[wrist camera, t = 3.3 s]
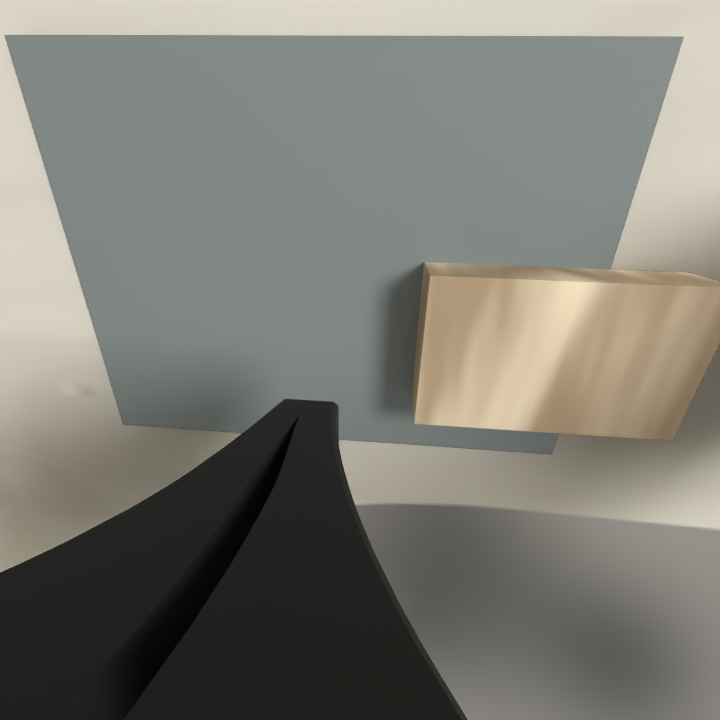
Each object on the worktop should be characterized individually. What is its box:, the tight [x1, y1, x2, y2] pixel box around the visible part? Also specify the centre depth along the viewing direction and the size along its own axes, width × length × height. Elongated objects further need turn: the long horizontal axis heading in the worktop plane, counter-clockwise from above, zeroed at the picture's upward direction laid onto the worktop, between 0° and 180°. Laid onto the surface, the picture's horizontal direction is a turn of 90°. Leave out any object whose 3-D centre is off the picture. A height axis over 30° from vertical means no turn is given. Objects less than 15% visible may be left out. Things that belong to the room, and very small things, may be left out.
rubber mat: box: [5, 35, 684, 454], centre depth 15 cm, size 22×16×1 cm
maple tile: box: [411, 262, 720, 441], centre depth 14 cm, size 2×6×10 cm
